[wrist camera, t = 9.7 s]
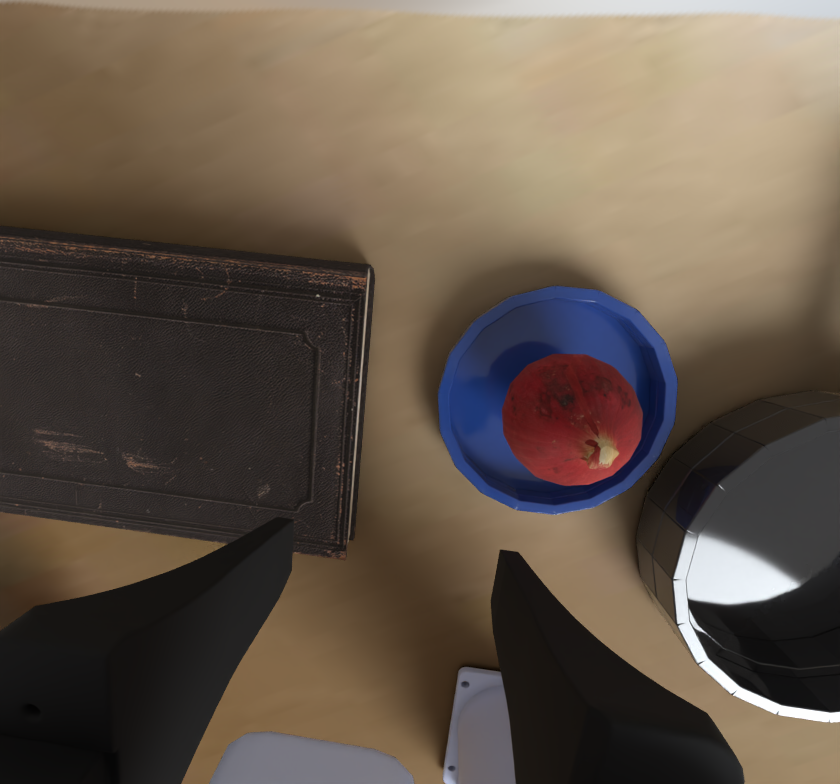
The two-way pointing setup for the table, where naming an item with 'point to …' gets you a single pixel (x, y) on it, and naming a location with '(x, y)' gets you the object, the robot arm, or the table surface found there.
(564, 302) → the saucer
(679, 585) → the frying pan
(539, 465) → the onion
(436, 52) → the table surface
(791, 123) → the table surface
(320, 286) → the hardcover book
